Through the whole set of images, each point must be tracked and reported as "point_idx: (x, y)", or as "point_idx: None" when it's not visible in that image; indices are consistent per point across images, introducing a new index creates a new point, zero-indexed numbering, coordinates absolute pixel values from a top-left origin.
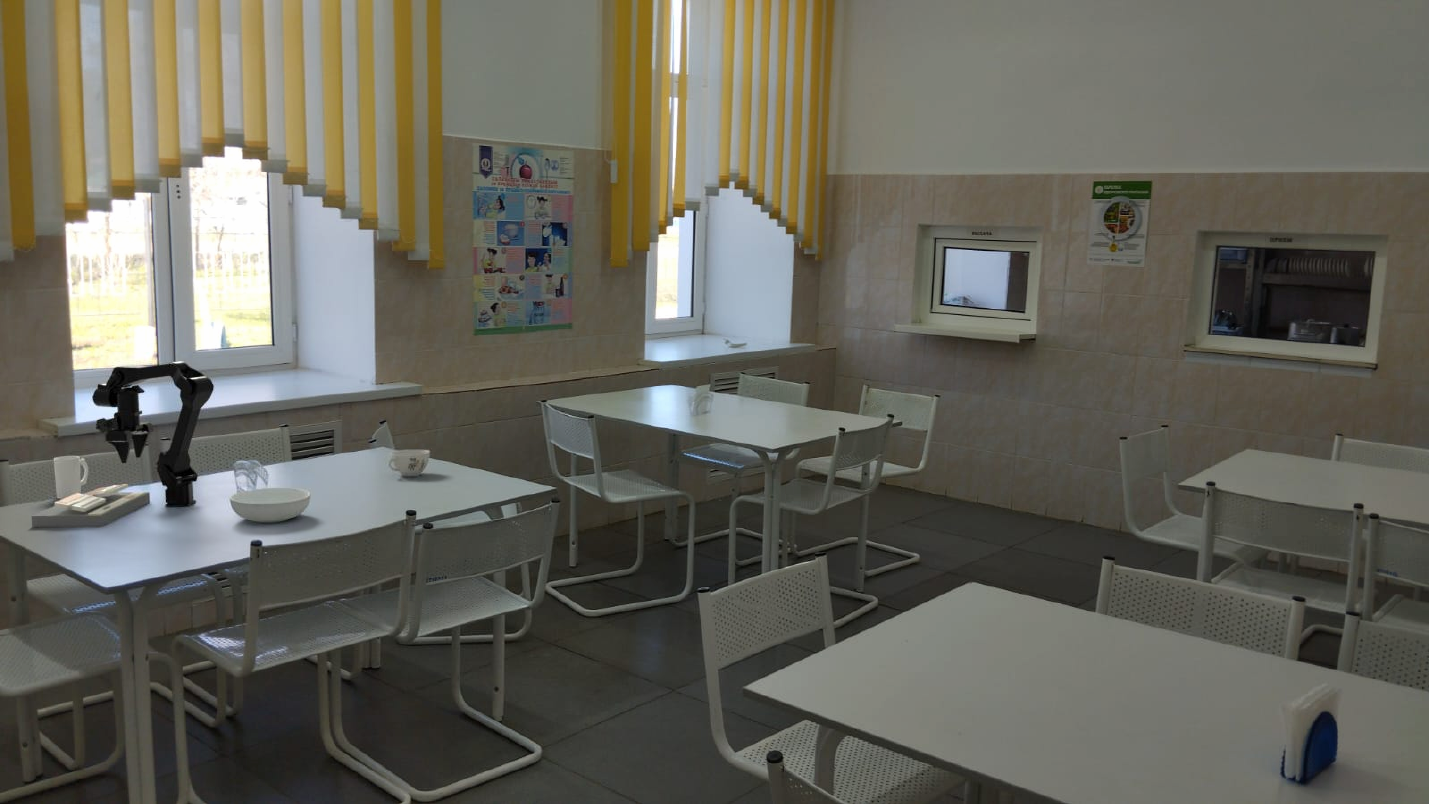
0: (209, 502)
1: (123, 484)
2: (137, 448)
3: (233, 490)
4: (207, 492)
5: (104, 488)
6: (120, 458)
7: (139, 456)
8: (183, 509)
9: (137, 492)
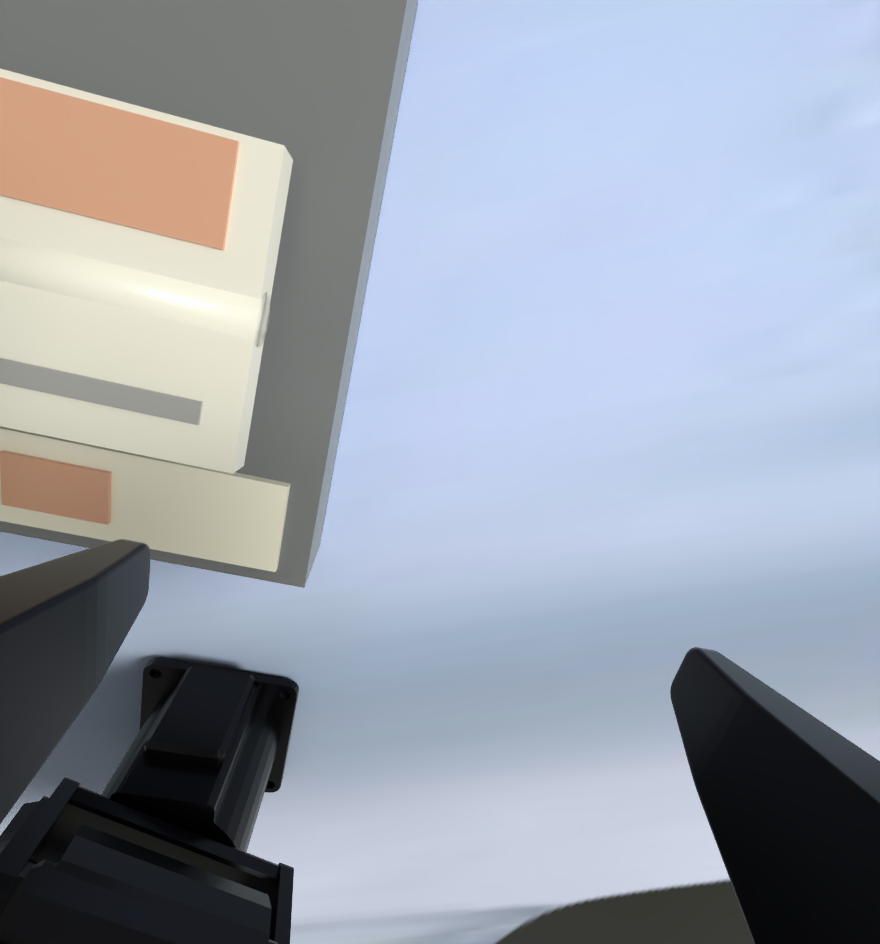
0: (260, 835)
1: (230, 427)
2: (792, 819)
3: (571, 889)
4: (559, 794)
5: (139, 229)
6: (28, 575)
7: (675, 705)
8: (72, 752)
9: (262, 513)
